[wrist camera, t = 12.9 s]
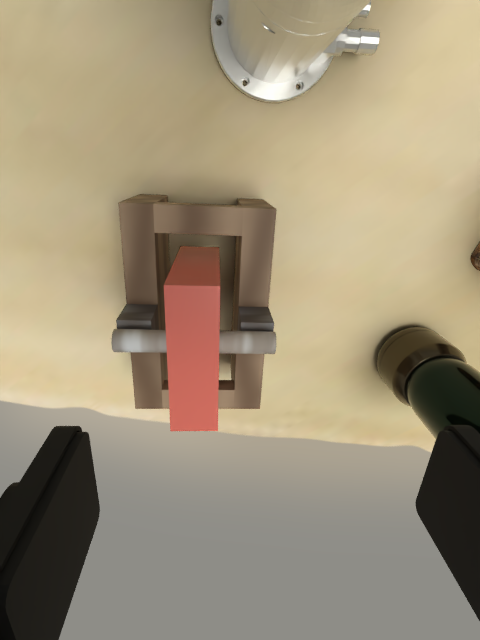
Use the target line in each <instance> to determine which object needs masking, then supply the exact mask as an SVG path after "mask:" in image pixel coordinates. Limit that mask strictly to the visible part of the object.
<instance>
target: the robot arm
mask: <svg viewBox="0 0 480 640" xmlns="http://www.w3.org/2000/svg"><path fill="white" fill-rule="evenodd" d="M370 6H371V0H213V2H212V10H211V35H212V43H213V46H214V50H215V54H216V57H217V59H218V62H219V64H220V66H221V68H222V70H223V72H224V73H225V75H226V76H227V78H228V79H229V80H230V81H231V83H232V84H233V85H234V86H235V87H236V88H237V89H238V90H240V91H241V92H243V93H244V94H246V95H247V96H249V97H251V98H254V99H256V100H258V101H263V102H269V103H274V102H284V101H288V100H291V99H294V98H296V97H298V96H300V95H302V94H304V93H305V92H306V91H307V90H309V89H310V88H311V87H312V86H313V85H314V84H315V83H317V82H318V81H319V80H320V78H321V77H322V76H323V74H324V73H325V71H326V70H327V69H328V67H329V65H330V63H331V61H332V59H333V57H334V56H341V54H342V52H343V51H344V52H354V54H363V55H373V54H374V53H375V51H376V49H377V46H378V43H379V38H380V32H379V30H374V29H362V28H360V29H359V30H357V29H347V26H348V25H349V24H350V23H351V22H352V21H353V20H354V18H355V17H362V18H366V17H367V16H368V13H369V11H370ZM217 21H221V23H222V24H221V26H218V25H217V24H216V23H217ZM243 81H246V82H247V86H244V85H243V84H242V82H243ZM297 84H298V85H299V86H300V89H299V90H298V89H296V85H297ZM416 509H417V513H418V515H419V517H420V518H421V520H422V522H423V524H424V525H425V527H426V529H427V530H428V532H429V534H430V536H431V538H432V539H433V541H434V543H435V545H436V546H437V548H438V550H439V551H440V553H441V555H442V557H443V558H444V560H445V562H446V564H447V565H448V567H449V569H450V570H451V572H452V574H453V576H454V577H455V579H456V581H457V582H458V584H459V586H460V588H461V590H462V591H463V593H464V595H465V597H466V598H467V600H468V602H469V603H470V605H471V607H472V609H473V610H474V612H475V614H476V615H477V617H478V619H479V621H480V434H479V433H478V432H477V430H476V429H474V428H473V427H472V426H469V425H448V426H446V427H444V429H443V431H440V432H439V433H438V436H437V439H436V442H435V445H434V448H433V451H432V454H431V457H430V460H429V463H428V466H427V469H426V472H425V475H424V478H423V481H422V484H421V487H420V490H419V493H418V496H417V499H416ZM99 512H100V507H99V499H98V493H97V486H96V479H95V473H94V466H93V459H92V453H91V446H90V440H89V434H88V433H87V432H82V429H81V427H80V426H56V427H54V428H53V429H52V431H51V432H50V434H49V436H48V437H47V439H46V441H45V442H44V444H43V445H42V447H41V448H40V450H39V452H38V453H37V455H36V457H35V458H34V460H33V462H32V463H31V465H30V466H29V468H28V469H27V471H26V473H25V474H24V476H23V477H22V479H21V481H20V482H18V483H13V484H11V485H10V486H9V487H8V488H7V489H6V490H5V492H4V493H3V495H2V496H1V498H0V640H58V639H59V636H60V633H61V630H62V627H63V624H64V621H65V618H66V615H67V612H68V609H69V606H70V603H71V600H72V597H73V594H74V591H75V588H76V585H77V582H78V579H79V576H80V573H81V570H82V568H83V565H84V562H85V559H86V556H87V553H88V550H89V546H90V544H91V541H92V538H93V535H94V532H95V528H96V525H97V522H98V518H99Z"/></svg>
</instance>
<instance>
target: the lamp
mask: <svg viewBox="0 0 480 640" xmlns="http://www.w3.org/2000/svg"><path fill="white" fill-rule="evenodd" d="M377 368H378V372H379V374H380V376H381V378H382V379H383V380H384V382H385V383H386V384H387V386H388V387H389V388H390V389H391V391H392V392H393V393H394V395H395V396H396V397H397V398H398V399H399V400H400V401H401V402H402V403H404V404H405V405H407V406H410V407H412V409H413V410H414V412H415V414H416V415H417V416H418V417H419V419H420V420H421V421H422V422H423V424H424V425H425V426H426V427H427V429H428V430H429V431H430V432H431V434H432V435H433V436H434V437H435V439H437V436H438V433H439V432H440V431H443V429H444V427H446V426H448V425H469V426H472V427H473V428H474V429H476V430H477V432H478V433H479V434H480V372H479V371H477V370H476V369H475V368H473V367H472V366H470V365H468V364H467V362H466V359H465V357H464V355H463V354H462V353H461V351H460V350H458V349H457V348H456V347H455V346H453V345H452V344H451V343H449V342H448V341H447V340H445V339H444V338H443V337H441V336H440V335H439V334H437V333H436V332H434V331H432V330H430V329H427V328H422V327H412V328H407V329H403V330H401V331H399V332H397V333H395V334H393V335H392V336H391V337H390V338H388V339H387V340H386V342H385V343H384V344H383V346H382V347H381V349H380V351H379V354H378V358H377Z"/></svg>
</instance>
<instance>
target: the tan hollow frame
mask: <svg viewBox="0 0 480 640" xmlns="http://www.w3.org/2000/svg"><path fill="white" fill-rule="evenodd" d="M118 204H119V216H120V228H121V240H122V252H123V264H124V276H125V288H126V300H127V304H126V306H125V308H124V309H123V311H122V312H121V314H120V315H119V317H118V318H117V320H116V322H117V329H114V331H113V334H112V349H113V351H114V352H131V361H132V373H133V385H134V397H135V409H170V408H169V387H168V366H167V346H166V325H165V304H164V283H165V281H166V279H167V276H168V274H169V272H170V263H169V233H174V234H201V235H229V236H236V245H235V269H234V293H233V317H232V331H219V353H231V378H232V380H219V387H218V409H260V400H261V388H262V376H263V364H264V354H275V351H276V334H275V332H273V329H274V322H273V319H272V316H271V313H270V311H269V308H268V304H269V292H270V279H271V267H272V255H273V243H274V231H275V219H276V209H275V208H274V207H272V206H271V205H270V204H268V203H267V202H266V201H264V200H259V199H237V205H215V204H192V203H168V200H167V195H146V194H140V195H137V196H135V197H132V198H129V199H127V200H124V201H121V202H119V203H118Z"/></svg>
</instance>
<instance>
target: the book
mask: <svg viewBox="0 0 480 640" xmlns="http://www.w3.org/2000/svg"><path fill="white" fill-rule="evenodd" d="M471 262H472V264H473V266H474V267H475V268H476V269H477V270H479V271H480V242H479V244H478V246H477V247H476V249H475V250H474V252H473V254H472V255H471Z"/></svg>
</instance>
